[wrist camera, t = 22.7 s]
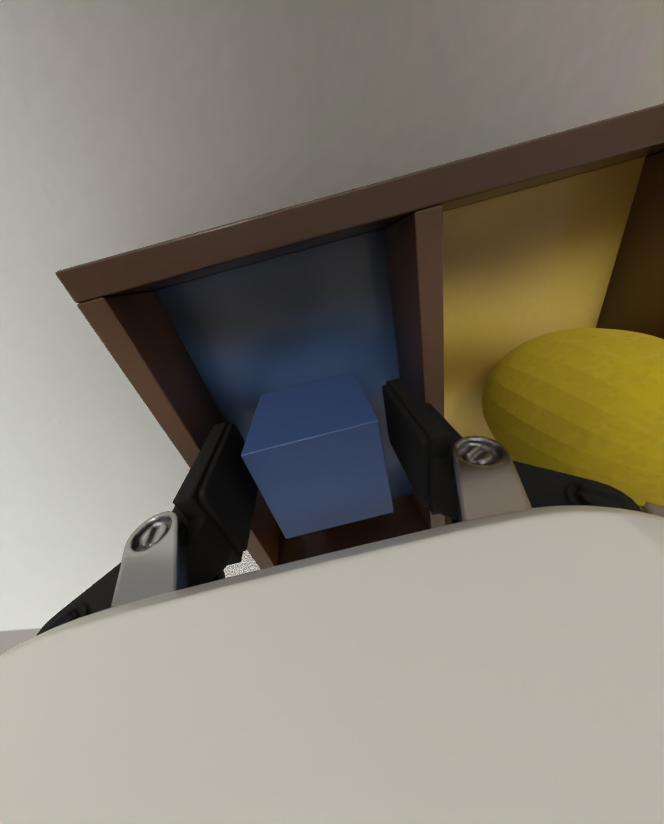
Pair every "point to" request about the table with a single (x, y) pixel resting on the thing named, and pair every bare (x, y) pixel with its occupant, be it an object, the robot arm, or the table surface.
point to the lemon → (584, 407)
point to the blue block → (318, 455)
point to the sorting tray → (389, 295)
